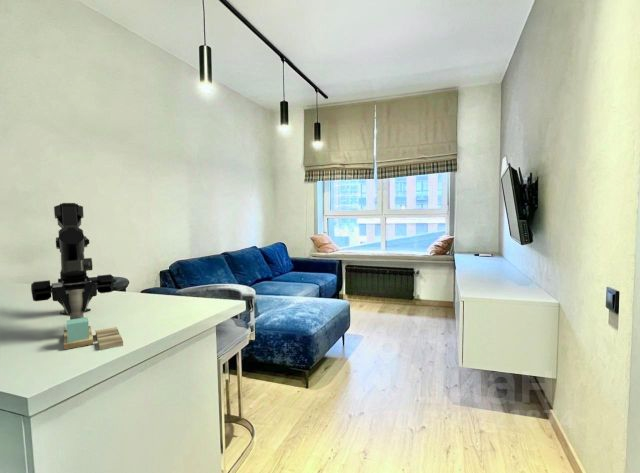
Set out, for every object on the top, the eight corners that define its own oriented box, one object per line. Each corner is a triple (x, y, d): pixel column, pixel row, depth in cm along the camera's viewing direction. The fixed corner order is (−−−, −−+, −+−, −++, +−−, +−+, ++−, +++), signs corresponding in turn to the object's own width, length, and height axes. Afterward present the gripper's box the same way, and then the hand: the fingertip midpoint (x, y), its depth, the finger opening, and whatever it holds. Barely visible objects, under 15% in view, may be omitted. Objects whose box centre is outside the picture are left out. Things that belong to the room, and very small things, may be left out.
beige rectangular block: (95, 334, 96) (95, 330, 96) (116, 331, 99) (116, 326, 99) (99, 350, 85) (99, 345, 85) (123, 345, 88) (123, 340, 88)
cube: (67, 337, 91) (66, 320, 90) (88, 333, 93) (87, 317, 93) (67, 342, 87) (66, 324, 87) (89, 338, 90) (88, 321, 89)
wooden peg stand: (64, 334, 97) (61, 290, 96) (90, 330, 100) (88, 287, 99) (64, 349, 86) (61, 300, 85) (93, 343, 89) (90, 296, 88)
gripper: (29, 251, 93) (28, 301, 84) (111, 246, 104) (117, 290, 95) (33, 277, 100) (33, 325, 91) (110, 270, 110) (116, 312, 102)
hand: (76, 312), depth 95 cm, fingers closed on wooden peg stand, 3 cm apart
